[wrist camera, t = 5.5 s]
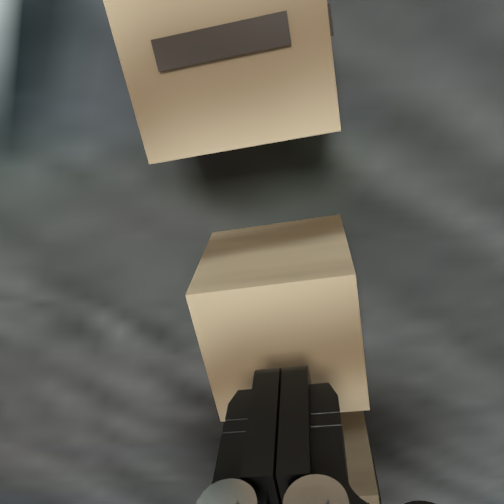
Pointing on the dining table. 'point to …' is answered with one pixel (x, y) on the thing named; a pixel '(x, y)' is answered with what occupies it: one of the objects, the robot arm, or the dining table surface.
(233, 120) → the digit one block
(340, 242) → the plain block
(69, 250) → the dining table surface
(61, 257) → the dining table surface
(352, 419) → the light wooden cube
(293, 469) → the robot arm
